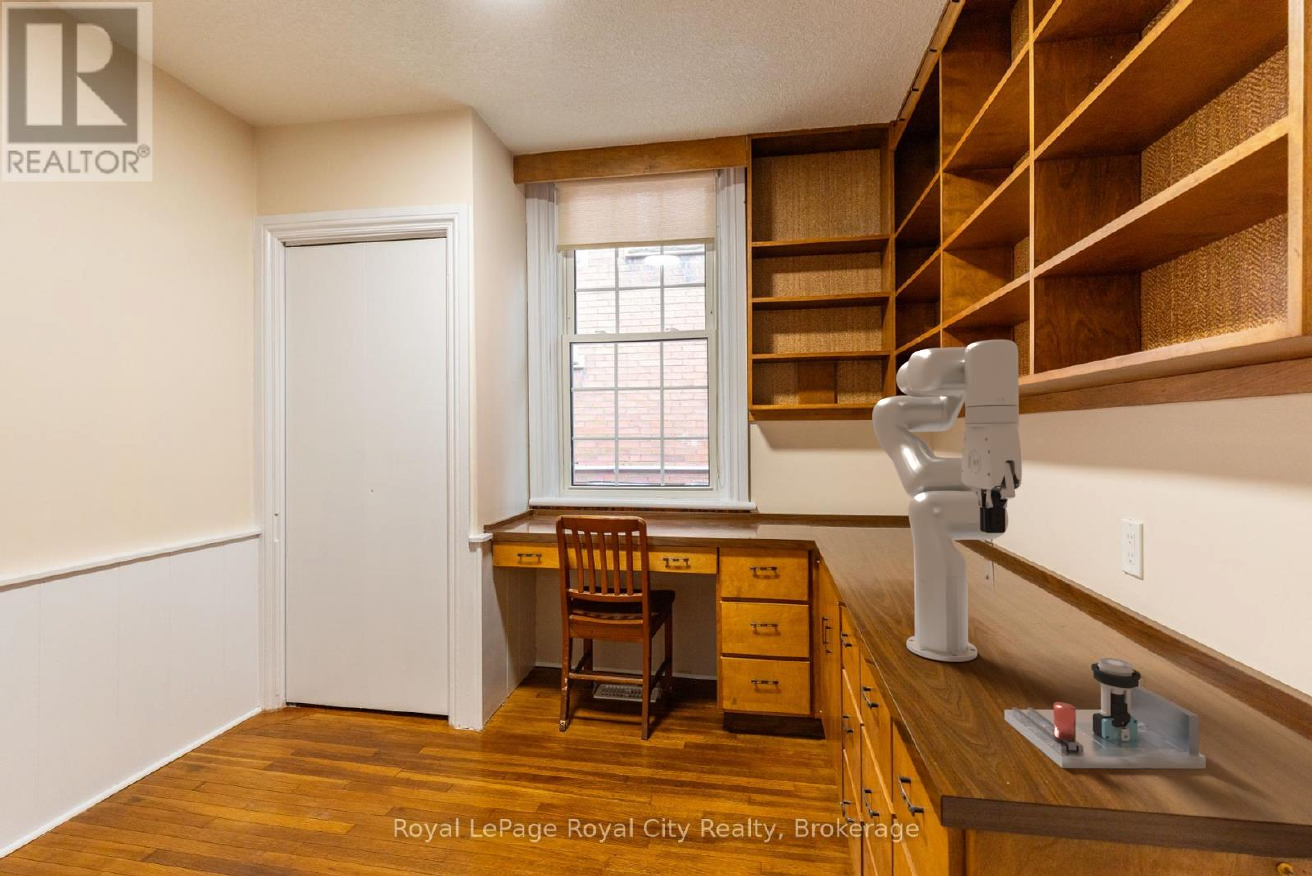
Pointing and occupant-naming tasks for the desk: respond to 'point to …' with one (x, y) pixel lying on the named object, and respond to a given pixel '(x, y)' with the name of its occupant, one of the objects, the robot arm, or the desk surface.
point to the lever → (1065, 724)
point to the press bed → (1158, 747)
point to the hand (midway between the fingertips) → (992, 532)
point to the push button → (1116, 700)
